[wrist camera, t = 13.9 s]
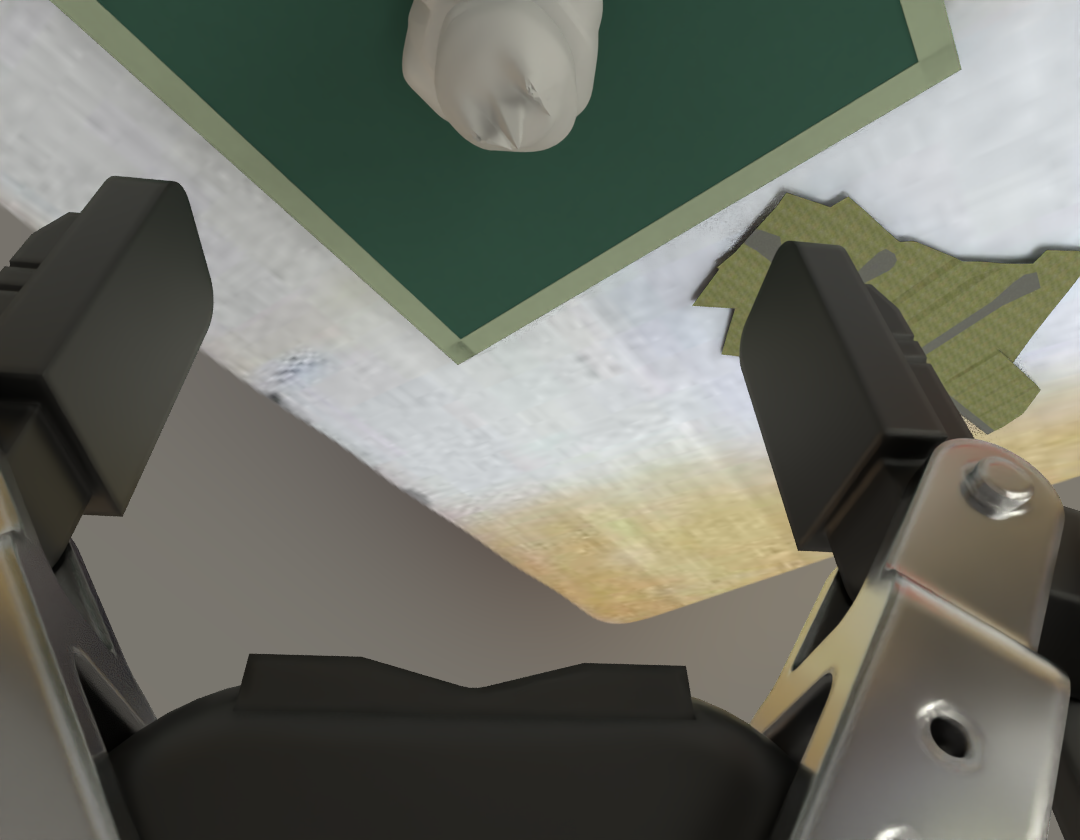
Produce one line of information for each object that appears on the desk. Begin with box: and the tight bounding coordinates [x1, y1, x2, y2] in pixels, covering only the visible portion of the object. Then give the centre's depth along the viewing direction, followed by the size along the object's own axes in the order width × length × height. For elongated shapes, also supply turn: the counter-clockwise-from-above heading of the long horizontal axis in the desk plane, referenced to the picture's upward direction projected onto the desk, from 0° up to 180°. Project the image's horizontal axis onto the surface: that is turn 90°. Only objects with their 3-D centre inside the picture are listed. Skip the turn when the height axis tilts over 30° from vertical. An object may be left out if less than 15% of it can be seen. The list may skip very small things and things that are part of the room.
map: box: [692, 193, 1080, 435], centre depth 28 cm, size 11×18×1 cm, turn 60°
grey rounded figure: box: [402, 0, 603, 152], centre depth 16 cm, size 5×7×8 cm
